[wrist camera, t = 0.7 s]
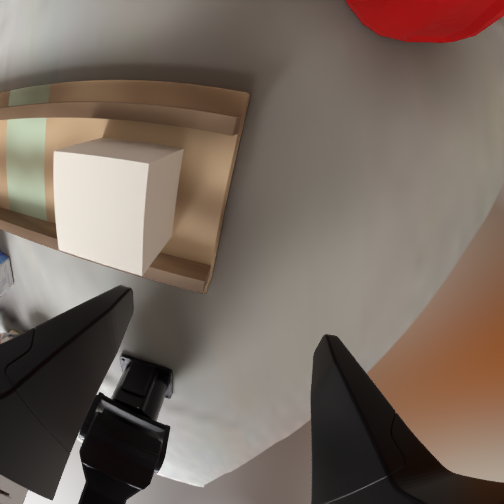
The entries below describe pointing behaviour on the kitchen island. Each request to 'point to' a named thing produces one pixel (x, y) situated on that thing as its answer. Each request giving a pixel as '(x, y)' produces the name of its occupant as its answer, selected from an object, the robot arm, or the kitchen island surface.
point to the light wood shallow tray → (134, 129)
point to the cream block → (116, 200)
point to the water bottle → (427, 18)
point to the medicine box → (5, 274)
